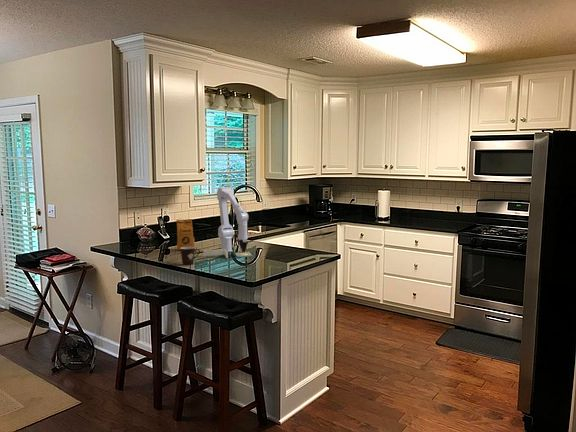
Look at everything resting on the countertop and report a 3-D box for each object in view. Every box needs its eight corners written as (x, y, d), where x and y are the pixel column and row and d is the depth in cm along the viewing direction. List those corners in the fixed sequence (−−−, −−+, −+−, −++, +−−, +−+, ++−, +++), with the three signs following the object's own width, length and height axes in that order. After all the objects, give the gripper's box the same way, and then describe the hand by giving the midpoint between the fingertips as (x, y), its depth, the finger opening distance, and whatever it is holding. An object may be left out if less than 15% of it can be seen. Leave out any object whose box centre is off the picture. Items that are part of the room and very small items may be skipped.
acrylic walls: (203, 255, 310) (203, 250, 309) (225, 254, 313) (225, 249, 313) (205, 259, 297) (204, 254, 297) (227, 258, 301) (227, 252, 300)
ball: (239, 253, 311) (239, 247, 311) (245, 252, 312) (245, 246, 312) (240, 254, 307) (240, 248, 307) (246, 253, 308) (246, 247, 308)
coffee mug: (180, 266, 279) (180, 249, 278) (180, 263, 287) (180, 247, 286) (200, 264, 281) (200, 248, 280) (200, 262, 290) (199, 246, 289)
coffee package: (194, 250, 328) (193, 219, 326) (176, 251, 326) (175, 220, 324) (195, 248, 338) (194, 217, 336) (177, 249, 336) (176, 218, 333)
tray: (235, 254, 313) (235, 253, 313) (249, 253, 316) (249, 252, 315) (237, 256, 304) (237, 255, 304) (251, 256, 307) (251, 254, 307)
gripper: (235, 229, 314) (235, 249, 316) (238, 232, 300) (238, 253, 302) (245, 229, 316) (246, 249, 317) (249, 232, 302) (249, 253, 303)
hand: (243, 251), depth 310 cm, fingers closed on ball, 4 cm apart
